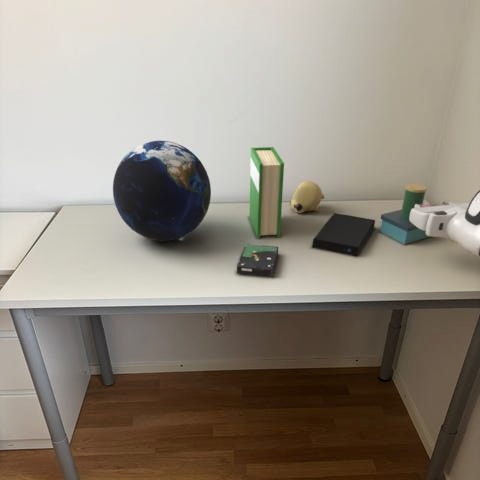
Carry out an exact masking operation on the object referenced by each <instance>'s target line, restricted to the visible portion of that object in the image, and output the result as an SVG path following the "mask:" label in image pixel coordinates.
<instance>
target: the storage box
mask: <svg viewBox="0 0 480 480" xmlns="http://www.w3.org/2000/svg"><path fill="white" fill-rule="evenodd" d="M401 211H402V208H401V209H398V210H393V211H390V212H386V213H383V214H380V218H379V219H381V224H380V229H379V232H380V233H382V234H383V235H385V236H387V237H389V238H391V239H393V240H395V241H397V242H399V243H401V244H403V245H408V244H411V243H414V242H417V241H418V242H419V241H421V240H424V239H428V238H431V236H428V235H426V231H423V230H421V229H419V228H418V227H416V226H415V225H414V224H412V223H411V222H410V220H406V219H403V218H402V217H401Z"/></svg>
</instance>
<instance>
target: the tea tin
mask: <svg viewBox="0 0 480 480" xmlns="http://www.w3.org/2000/svg"><path fill="white" fill-rule="evenodd" d="M426 191H427V186H426V185H424V184H421V183H414V182H413V183H407V184H406V185H405V190H404V195H403V201H402V206H401V209H402V211H401V217H402V218H403V219H406V220H409V216H410V212H411V210H412V209H413V208H414V206H415V204H420V205H423V204H424V201H425V196H426Z"/></svg>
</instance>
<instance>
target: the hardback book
mask: <svg viewBox="0 0 480 480" xmlns="http://www.w3.org/2000/svg"><path fill="white" fill-rule="evenodd" d="M284 170H285V162H284V161H283V159H282V158H281V157H280V155H279V153H278V152H277V151H276V149H275V148H274V146H263V147H261V146H260V147H258V146H257V147H250V171H249V172H250V173H249V220H250V222H251V224H252V228H253V230H254V233H255V236H256V238H257V239H261V236H276V238H281V228H282V227H281V226H282V223H281V222H282V209H283V192H284V191H283V190H284V174H285V172H284Z"/></svg>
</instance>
